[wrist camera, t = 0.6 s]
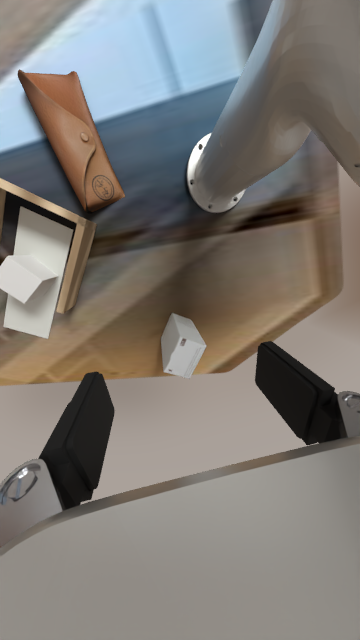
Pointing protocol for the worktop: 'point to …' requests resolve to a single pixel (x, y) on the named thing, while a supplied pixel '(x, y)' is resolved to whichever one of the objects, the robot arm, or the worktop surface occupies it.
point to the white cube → (25, 277)
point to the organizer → (78, 249)
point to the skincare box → (181, 346)
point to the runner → (51, 250)
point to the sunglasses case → (73, 136)
